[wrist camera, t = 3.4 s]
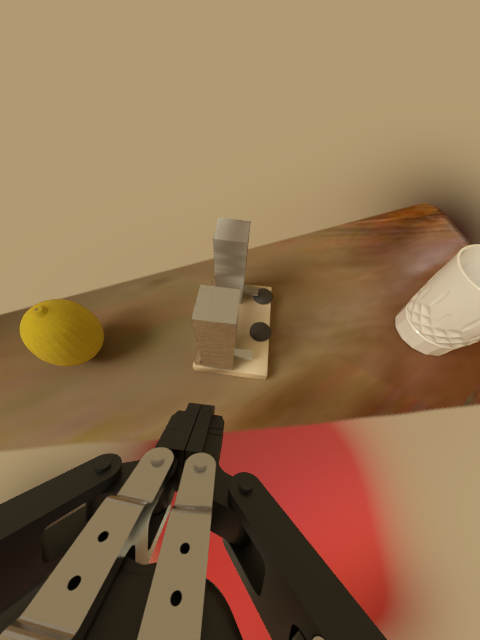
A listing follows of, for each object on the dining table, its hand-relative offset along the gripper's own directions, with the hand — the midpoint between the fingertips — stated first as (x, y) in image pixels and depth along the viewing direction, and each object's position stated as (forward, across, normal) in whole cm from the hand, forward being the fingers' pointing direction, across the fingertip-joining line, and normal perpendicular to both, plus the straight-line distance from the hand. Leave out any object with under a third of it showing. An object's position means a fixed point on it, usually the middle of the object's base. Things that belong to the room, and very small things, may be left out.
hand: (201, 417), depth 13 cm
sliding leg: (+10, 0, 0) cm, 11 cm away
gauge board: (+14, -1, -2) cm, 14 cm away
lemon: (+11, +14, +2) cm, 18 cm away
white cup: (+17, -24, -4) cm, 29 cm away
